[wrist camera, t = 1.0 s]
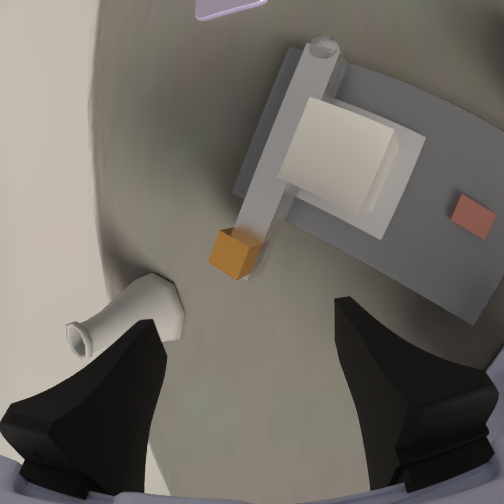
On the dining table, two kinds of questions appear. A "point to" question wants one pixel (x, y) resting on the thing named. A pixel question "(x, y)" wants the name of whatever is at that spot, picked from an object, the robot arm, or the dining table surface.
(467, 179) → the grey flat block
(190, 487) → the dining table surface
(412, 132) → the plug
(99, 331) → the flask
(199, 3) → the mobile phone
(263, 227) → the grey bar orange end
